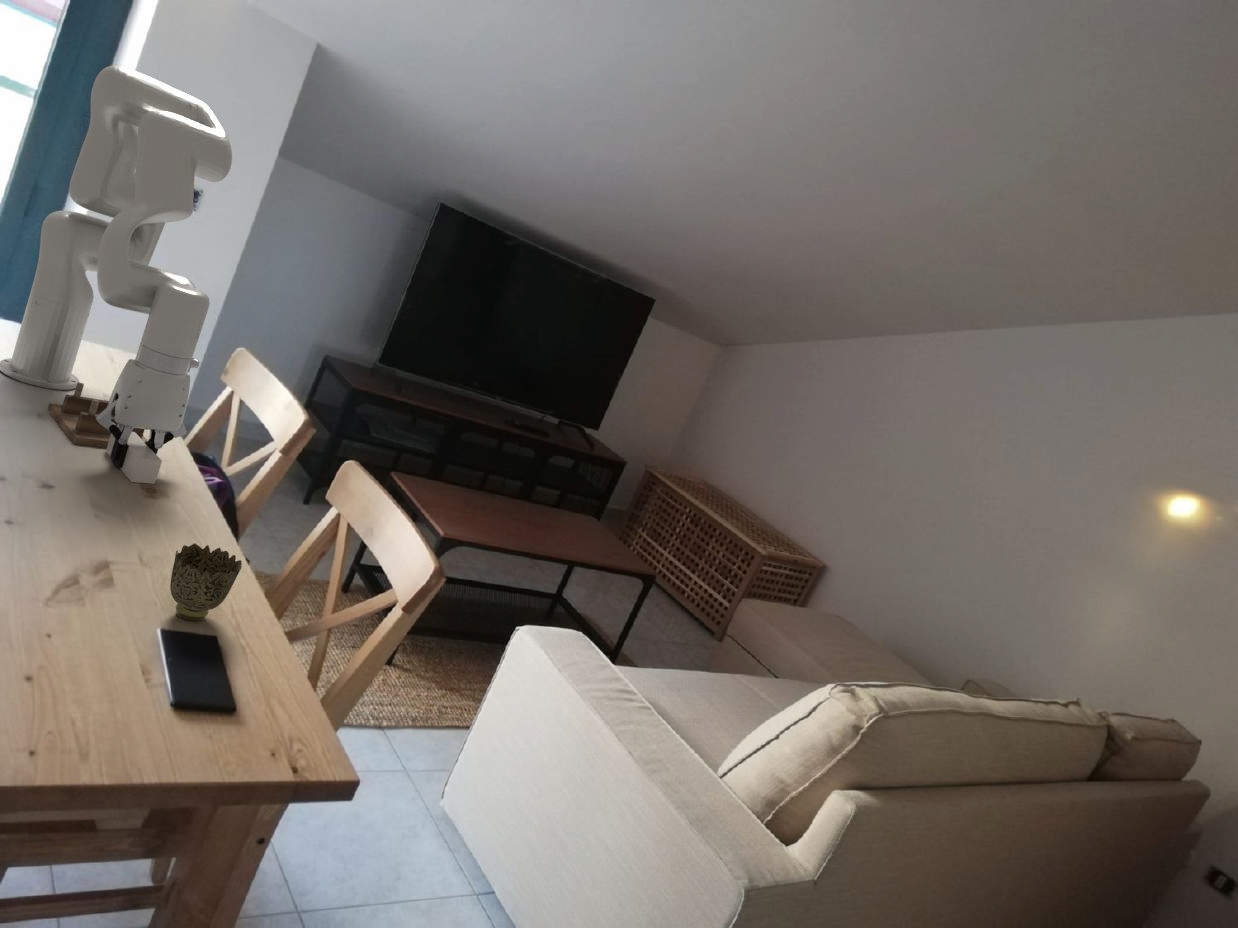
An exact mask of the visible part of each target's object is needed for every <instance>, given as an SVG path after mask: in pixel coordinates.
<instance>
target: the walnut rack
mask: <svg viewBox="0 0 1238 928" xmlns="http://www.w3.org/2000/svg"><path fill="white" fill-rule="evenodd" d="M84 386H85V383H83V382H80V381H79V382H78V383H77V386H76V388H74V389H75V390H74V392H73V394H67V393H66V394H65V395H64V399H63V403H62V404H58V403H51V402H50V403H49V404H48V407H47V411H48V412H49V414H50V415H51V416H52V418H53V419H54V420H55V421H56V423H57V424H58V425H59V427H60V428H61V429H62V430H63V431H64V433H65V434H66V436H68V438H69V439H70V441H71V442H72V443H73V444H74V445H78V446H85V447H86V446H88V447H95V448H96V447H97V448H103V449H107V446H108V442H109V439H110V435H111V432H110V431H109V430H108V429H106V428H105V427H104V426H102V425H101V424H100V423H99V422H98V421H97V420H96V417H97V416H98V415H99V414H100V413H101V412H103V411H104V410H105V409H106V408H107V406H108V402H109V400H106V399H105V400H104V399H98V398H92V397H85V396H82V393H83V389H84ZM111 421H112V422H113V423H114V424H115V425H116V426H117V425H118V423H116V421H115V417H113V418H112V419H111ZM145 430H146V429H141V428H133V430H132V432H135V433H136V434H137V435H138V436H139V437H140V438H141V439H142V440H143V441H144V442H145V441H148V440H149V439H147V438H146V437H145V436H144V433H145Z"/></svg>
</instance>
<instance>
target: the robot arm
mask: <svg viewBox="0 0 1238 928" xmlns="http://www.w3.org/2000/svg"><path fill="white" fill-rule="evenodd" d="M89 119H90V120H89V126H88V130H87V133H86V136H85V138H84V141H83V143H82V147H81V149H80V151H79V155H78V158H77V161H76V163H75V166H74V168H73V172H72V175H71V177H70V181H69V188H68V192H69V196H70V199H71V200H72V201H73V203H75V204H76V205H79V207H81V208H83V209H86V210H88V211H90V212H94V213H97V214H100V215H103V216H107V217H110V218H113V219H111V221H107V220H104V219H101V218H98V217H94V216H91V215H88V214H84V213H81V212H78V211H77V212H76V211H71V210H56V211H53V212H51V213H49V214H48V215H47V216H46V217H45V219H44V220H43V222H42V226H41V231H40V242H39V254H38V261H37V264H36V271H35V274H34V278H33V282H32V285H31V290H30V293H29V296H28V301H27V304H26V307H25V310H24V314H23V316H22V321H21V324H20V328H19V331H18V332H19V333H18V335H17V339H16V342H15V346H14V349H13V353H12V357H11V358H4V359H2V360H0V372H1V373H3V374H4V375H5V376H8V377H10V378H12V379H14V380H17V381H19V382H23V383H26V384H28V385H32V386H36V387H41V388H46V389H52V390H64V391H67V390H73V389H76V386H77V383H78V382H80V379H79V378H78V377H77V376H76V375H75V374H73V369H74V366H75V362H76V360H77V356H78V352H79V349H80V346H81V342H82V340H83V335H84V333H85V329H86V327H87V326H86V325H87V322H88V319H89V316H90V313H91V309H92V306H93V303H94V298H95V297H94V290H93V287H92V285H91V283H90V281H89V279H88V276H87V274H86V271H89V272H96V274H97V276H96V279H97V280H96V281H97V284H96V285H97V289H98V293H99V296H100V297H101V299H102V300H103V301H104V302H105V303H106V304H108V305H109V306H112V307H114V308H119V309H121V310H126V311H131V312H134V313H135V312H136V313H139V314H144V315H148V318H147V320H146V324H145V327H144V329H143V333H142V337H141V340H140V343H139V346H138V349H137V353H136V357H135V359H134V358H133V359H132V358H129V359H128V360H127V362H126V363H125V365H124V366H123V368H122V370H121V372H120V374H119V375H118V378H117V381H116V382H115V385H114V387H113V389H112V391H111V394H110V397H109V399H108V401H109V402H108V406H107V408H106V409H105V410H104V411H103V412H101V413H100V414H99V415H98V416H97V417H96V420H97V421H98V422H99V423H100V424H101V425H102V426H104V427H105V428H106V429H108V430H109V431H110V432H111V433H112V435H113V436H114V437H115V442H114V445H113V448H112V451H111V455H110V456H109V457H110V460H111V462H112V463H113V464H114V465H115V467H116V468H118V469H120V468H122V466H123V463H124V460H125V457H126V453H127V450H128V447H129V445H128V444H127V442H128V439H129V437H130V435H131V433H132V430H133V428H141V429H145V430H148V431H149V430H150V431H149V432H150V433H149V437H148V439H147V440H148V441H145V444H146V445H147V446H148V447H149V448H150V449H151V450H152V451H153V452H154V453H155V454H156V455H157V453H158V451H159V450H160V449H162V448H163V446H164V445H165V444H168V442H171V441H172V440H174V439H176V438H179V437H183V436H185V435H186V434H187V428H186V425H185V422H184V418H185V413H186V410H187V406H188V401H189V395H190V387H191V375H190V374H189V373H190V370H191V369H198V368H199V366H200V361H199V360H198V359H195V358H194V354H195V352H196V348H197V345H198V342H199V339H200V335H201V333H202V329H203V327H204V324H205V321H206V317H207V314H208V311H209V308H210V304H211V303H210V302H211V301H210V298H209V296H208V295H207V293H205V292H203V291H202V290H201V289H198V288H197V287H196V286H195V284H194V283H193V281H192V280H191V279H190V278H188V277H187V276H184V275H181V274H179V273H175V272H172V271H168V270H164V269H161V268H158V267H154V266H151V265H150V263H151V260H152V258H153V255H154V252H155V249H156V248H157V245H158V243H159V240H160V237H161V235H162V232H163V230H164V228H165V225H166V223H173V222H175V223H176V222H180V221H183V220H186V219H188V218H190V217H191V216H192V214H193V211H194V195H195V194H194V193H195V192H194V191H195V190H194V189H195V177H198V178H200V179H202V180H205V181H206V182H207V181H209V182H211V183H219V182H221V181H223V180H225V178H226V177H227V176H228V175H229V172H230V170H231V168H232V164H233V152H232V146H231V143H230V139H229V137H228V134H227V133H226V131H225V129H224V128H223V126H222V124H221V123H220V121H219V120H218V117H216V114H214V112H213V110H212V109H211V108H210V106H209V105H207V104H206V103H205V102H203V101H202V100H200V99H198V98H196V97H194V96H192V95H191V94H188V93H185V92H183V91H181V90H179V89H176V88H174V87H172V86H171V85H168V84H166V83H164V82H163V81H162V82H161V81H159V80H157V79H156V78H153V77H151V76H149V75H146V74H144V73H141V72H138V71H136V70H134V69H131V68H128V67H124V66H120V65H109V66H107V67H105V68H103V69H102V70H100V72H99V73H98V74H97V76H96V78H95V80H94V82H93V85H92V88H91V94H90V118H89ZM113 417H115V421H116V423H118V425H117V426H116V425H115V424H114V423H113V422H112V421H111V419H112V418H113Z"/></svg>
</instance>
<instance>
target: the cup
mask: <svg viewBox="0 0 1238 928" xmlns="http://www.w3.org/2000/svg"><path fill="white" fill-rule="evenodd" d="M236 558H237V556H236V555H235V554H232V555H231V556H230V554H229V552H228V550H223V551H222V549H221V548H220V547H218V548H216V549H214V550H212V551H211V549H210V545H209V544H207V545H206V546H205V547H204V548H202V546H200V545H199V544H197V543H192V544H190V545H189V546H188V545H186V544H183V546H182V547H181V551H180V552H179V551H178V549H176V552H175V557H174V562H173V567H172V571H171V578H170V588H169V590H170V595H171V597H172V599H173V600H174V601H175V603H177V604H175V612H176V614H177V616H178V617H180V618H181V619H184V620H187V621H190V622H191V621H192V622H195V621H196V622H197V621H198V622H199V621H201V620H203V619H205V618H206V617H207V616H208V614H209V611H210V610H213V609H215V608H217V607H219V606H220V605H221V604H222V603H223V602H224V601H225V599H226V598H227V597H228V595H229V594H230V591H231V590H232V588H233V586H234V583H235V581H236V579H237V577H238V575H239V573H240V571H241V570H242V567H243V566H242V564H243V563H242V560H241V559H240V560H236Z"/></svg>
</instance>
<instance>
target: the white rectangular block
mask: <svg viewBox="0 0 1238 928" xmlns="http://www.w3.org/2000/svg"><path fill="white" fill-rule="evenodd" d="M114 442H115V437H114V436H113V435H112V433H111V435H110V439H109V442H108V446H107V448H105V452H106V454H107V455H108V456H109V457H110V455H111V451H112V448H113V445H114ZM127 444H128V445H129V447H128V450H127V453H126V457H125V460H124V463H123V466H122V468H119V469H120V470H121V471H122V473H123V474H124V475H125V476H126V477H127V479H128V480H129V481H130V482H131V483H141V484H152V485H155V484H156V482H157V479H158V475H159V472H160V468H161V464H162V462H163V460H162V459H161V458H160V457H159V456H158V455H157V454H155V453H154V452H153V451H152V450H151V449H150V448H149V447H148V446H147V445H146V444H145V442H144V441H143V440H142V439H141V438H140V437H139V436H138V435H137V434H136V433H135V432H132V433H131V435H130V437H129V439H128V442H127Z"/></svg>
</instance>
